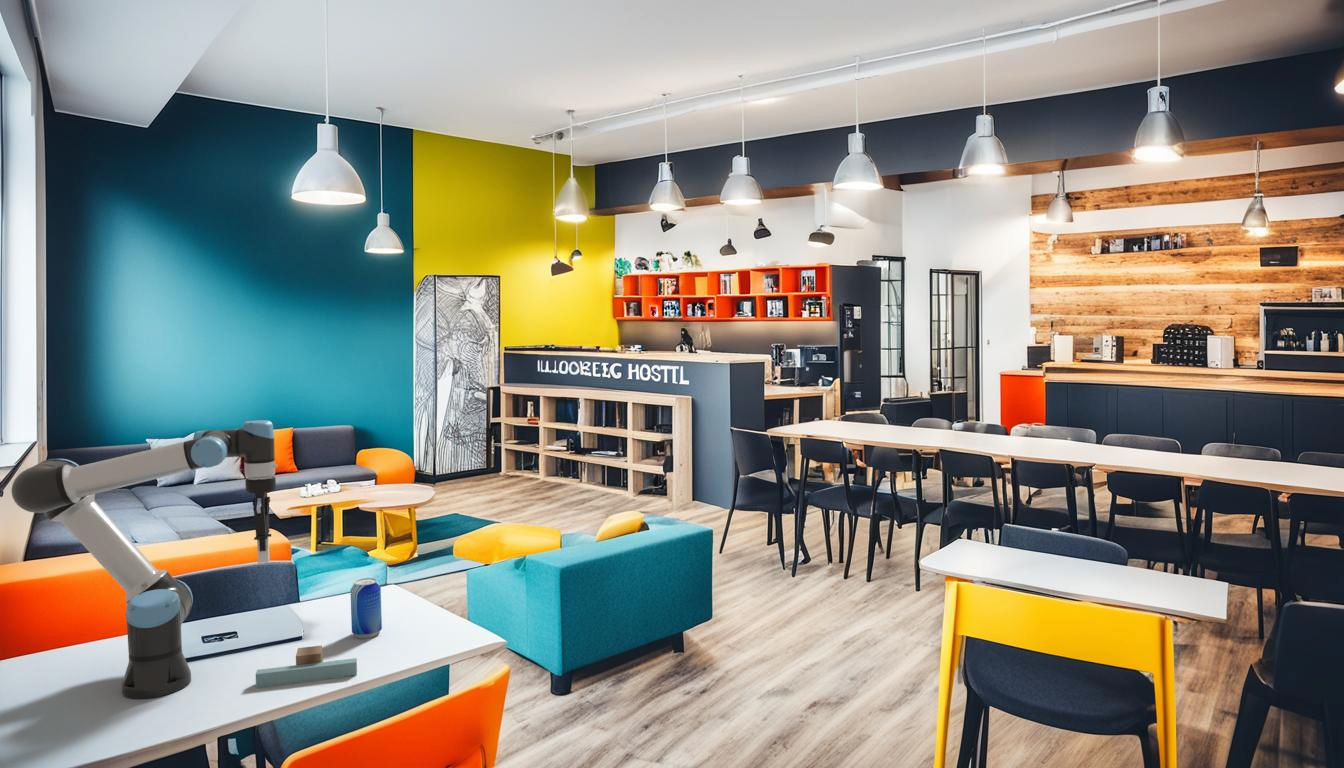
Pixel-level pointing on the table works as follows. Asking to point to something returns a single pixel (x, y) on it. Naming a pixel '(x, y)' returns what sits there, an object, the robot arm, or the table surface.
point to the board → (305, 672)
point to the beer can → (366, 608)
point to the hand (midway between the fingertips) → (263, 561)
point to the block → (309, 655)
